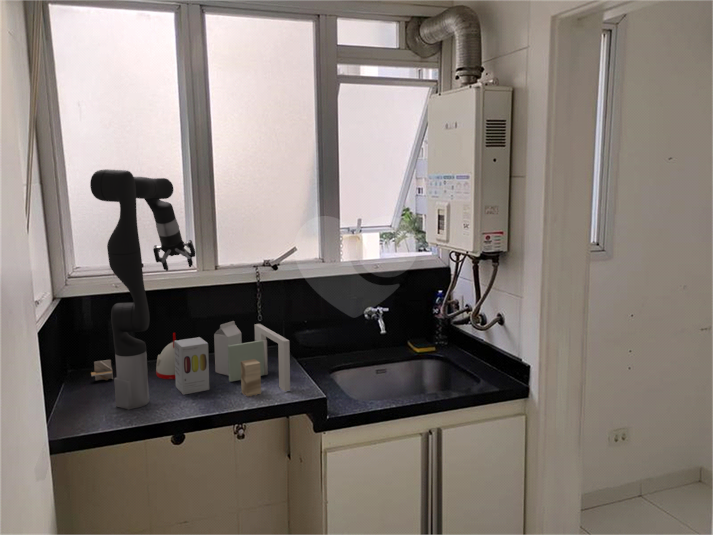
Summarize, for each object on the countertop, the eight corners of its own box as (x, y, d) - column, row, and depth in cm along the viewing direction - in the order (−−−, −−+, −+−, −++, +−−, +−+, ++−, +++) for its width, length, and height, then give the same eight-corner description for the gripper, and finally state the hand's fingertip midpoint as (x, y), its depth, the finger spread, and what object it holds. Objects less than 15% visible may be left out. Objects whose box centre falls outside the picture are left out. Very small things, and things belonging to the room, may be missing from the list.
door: (265, 372, 211) (264, 338, 209) (268, 374, 209) (267, 340, 206) (227, 379, 203) (226, 344, 201) (230, 381, 201) (229, 346, 199)
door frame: (255, 370, 214) (254, 324, 211) (260, 369, 215) (259, 323, 212) (284, 392, 192) (283, 341, 190) (290, 391, 193) (289, 340, 191)
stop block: (261, 394, 191) (260, 363, 189) (247, 397, 188) (246, 365, 187) (255, 389, 195) (254, 358, 193) (241, 392, 193) (240, 361, 191)
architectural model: (113, 382, 203) (112, 362, 202) (92, 385, 200) (90, 365, 199) (112, 379, 206) (111, 359, 205) (91, 382, 203) (90, 362, 202)
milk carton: (242, 371, 214) (241, 322, 211) (229, 376, 208) (227, 326, 205) (229, 367, 218) (227, 319, 215) (215, 372, 212) (213, 323, 209)
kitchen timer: (194, 365, 220) (192, 327, 218) (196, 376, 207) (194, 337, 205) (156, 368, 216) (154, 330, 214) (155, 381, 203) (153, 340, 201)
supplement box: (182, 395, 190) (180, 347, 187) (174, 387, 197) (172, 340, 195) (210, 389, 195) (208, 342, 192) (201, 381, 203) (200, 336, 200)
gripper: (147, 238, 200) (158, 276, 208) (188, 232, 202) (197, 270, 210) (149, 228, 206) (160, 265, 215) (189, 222, 208) (198, 259, 217)
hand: (179, 267), depth 213 cm, fingers open, 8 cm apart
